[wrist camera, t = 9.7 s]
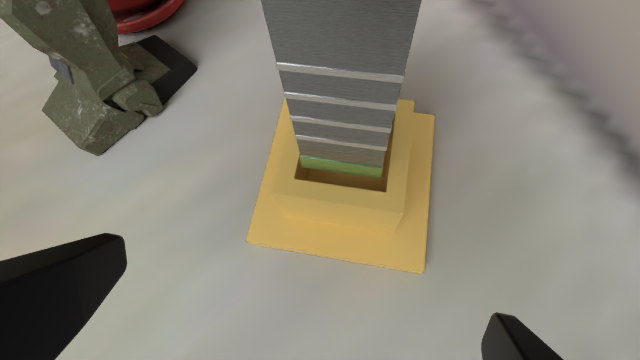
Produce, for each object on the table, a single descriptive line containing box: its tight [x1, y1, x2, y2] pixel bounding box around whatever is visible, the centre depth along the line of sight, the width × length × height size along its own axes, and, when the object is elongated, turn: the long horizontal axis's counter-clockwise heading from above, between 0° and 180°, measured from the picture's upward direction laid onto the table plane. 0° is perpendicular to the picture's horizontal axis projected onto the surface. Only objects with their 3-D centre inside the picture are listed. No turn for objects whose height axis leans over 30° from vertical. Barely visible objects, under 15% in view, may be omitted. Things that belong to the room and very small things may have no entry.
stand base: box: [246, 98, 435, 274], centre depth 21 cm, size 11×11×5 cm
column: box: [261, 0, 421, 179], centre depth 13 cm, size 4×4×12 cm
